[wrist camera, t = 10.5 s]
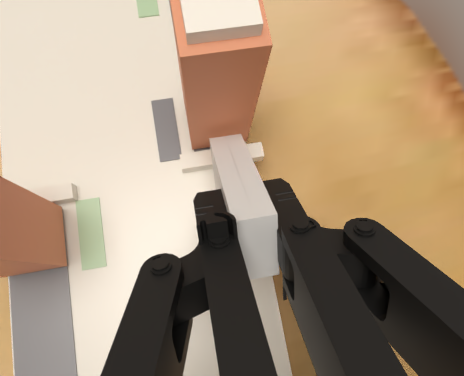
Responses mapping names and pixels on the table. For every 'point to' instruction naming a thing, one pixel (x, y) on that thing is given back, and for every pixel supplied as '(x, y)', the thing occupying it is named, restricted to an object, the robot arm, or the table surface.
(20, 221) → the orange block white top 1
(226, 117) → the orange rectangular block
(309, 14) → the table surface
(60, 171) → the white fixture board
